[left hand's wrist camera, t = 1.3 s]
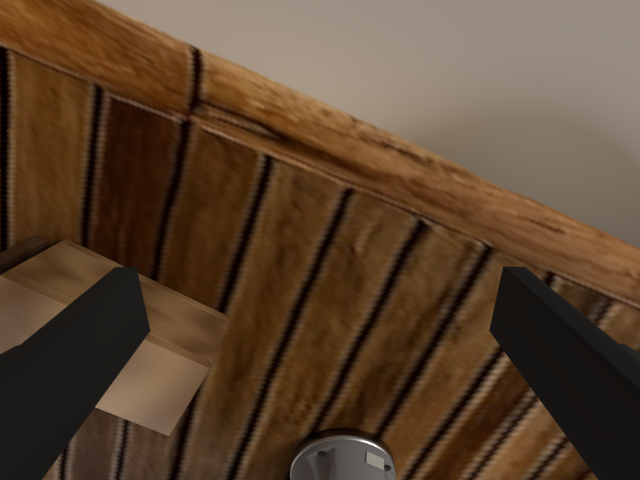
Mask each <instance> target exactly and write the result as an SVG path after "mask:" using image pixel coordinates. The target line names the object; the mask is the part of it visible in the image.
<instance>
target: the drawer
mask: <svg viewBox="0 0 640 480" xmlns="http://www.w3.org/2000/svg"><path fill="white" fill-rule="evenodd" d="M46 242H47V241H46V240H44V239H42V238H40V237H38V236H34V237H32V238H30V239H28V240H26V241H24V242H22V243H20V244H18V245H16V246H14V247H12V248H10V249H7V250H5V251H3V252H1V253H0V275H1V274H3V273H5V272H6V271H9V270H10V269H12V268H14V267H16V266H18V265H19V264H21V263H23V262H25V261H27V260H28V259H30V258H32V257H34V256H36V255H37V254H39V253H41V252H43V251H44V248H45V245H46Z"/></svg>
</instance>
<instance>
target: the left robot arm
mask: <svg viewBox="0 0 640 480" xmlns="http://www.w3.org/2000/svg"><path fill="white" fill-rule="evenodd" d="M150 331H151V330H150V326H149V321H148V316H147V312H146V307H145V303H144V298H143V293H142V289H141V284H140V280H139V275H138V271H137V267H115V268H113V269H112V270H111V271H110V272H108V273H107V274H106V275H105V276H104V277H102V278H101V279H100V280H99V281H97V282H96V283H95V284H94V285H93V286H91V287H90V288H89V289H88V290H86V291H85V292H84V293H83V294H82V295H80V296H79V297H78V298H77V299H75V300H74V301H73V302H72V303H71V304H69V305H68V306H67V307H66V308H64V309H63V310H62V311H61V312H60V313H58V314H57V315H56V316H55V317H53V318H52V319H51V320H50V321H49V322H47V323H46V324H45V325H44V326H42V327H41V328H40V329H39V330H38V331H36V332H35V333H34V334H33V335H31V336H30V337H29V338H28V339H27V340H25V341H24V342H23V343H22V344H20V345H16V346H14V347H13V348H11V349H9V350H7V351H5V352H3V353H2V354H0V480H42V479H43V477H44V476H45V475H46V473H47V472H48V470H49V469H50V468H51V466H52V465H53V464H54V462H55V461H56V459H57V458H58V457H59V455H60V454H61V453H62V451H63V450H64V449H65V447H66V446H67V444H68V443H69V442H70V440H71V439H72V438H73V436H74V435H75V434H76V432H77V431H78V429H79V428H80V427H81V425H82V424H83V423H84V421H85V420H86V418H87V417H88V416H89V414H90V413H91V412H92V410H93V409H94V408H95V406H96V405H97V403H98V402H99V401H100V399H101V398H102V397H103V395H104V394H105V393H106V391H107V390H108V388H109V387H110V386H111V384H112V383H113V382H114V380H115V379H116V377H117V376H118V375H119V373H120V372H121V371H122V369H123V368H124V367H125V365H126V364H127V362H128V361H129V360H130V358H131V357H132V356H133V354H134V353H135V352H136V350H137V349H138V347H139V346H140V345H141V343H142V342H143V341H144V339H145V338H146V336H147V335H148V334H149V332H150ZM489 331H490V332H491V334H492V335H493V336H494V338H495V339H496V341H497V342H498V343H499V345H500V346H501V347H502V349H503V350H504V352H505V353H506V354H507V356H508V357H509V358H510V360H511V361H512V362H513V364H514V365H515V367H516V368H517V369H518V371H519V372H520V373H521V375H522V376H523V377H524V379H525V380H526V382H527V383H528V384H529V386H530V387H531V388H532V390H533V391H534V393H535V394H536V395H537V397H538V398H539V399H540V401H541V402H542V403H543V405H544V406H545V408H546V409H547V410H548V412H549V413H550V414H551V416H552V417H553V418H554V420H555V421H556V423H557V424H558V425H559V427H560V428H561V429H562V431H563V432H564V434H565V435H566V436H567V438H568V439H569V440H570V442H571V443H572V444H573V446H574V447H575V449H576V450H577V451H578V453H579V454H580V455H581V457H582V458H583V460H584V461H585V462H586V464H587V465H588V466H589V468H590V469H591V470H592V472H593V473H594V475H595V476H596V477H597V479H598V480H640V353H639V352H638V351H636V350H634V349H632V348H630V347H628V346H626V345H625V344H618V343H617V342H616V341H615V340H613V339H612V338H611V337H610V336H609V335H607V334H606V333H605V332H604V331H602V330H601V329H600V328H599V327H598V326H596V325H595V324H594V323H593V322H591V321H590V320H589V319H588V318H587V317H585V316H584V315H583V314H582V313H580V312H579V311H578V310H577V309H576V308H574V307H573V306H572V305H571V304H569V303H568V302H567V301H566V300H565V299H563V298H562V297H561V296H560V295H558V294H557V293H556V292H555V291H554V290H552V289H551V288H550V287H549V286H547V285H546V284H545V283H544V282H543V281H541V280H540V279H539V278H538V277H536V276H535V275H534V274H533V273H532V272H530V271H529V270H528V269H527V268H525V267H503V271H502V275H501V280H500V284H499V289H498V293H497V298H496V303H495V307H494V312H493V316H492V321H491V326H490V330H489ZM290 478H291V480H396V470H395V465H394V460H393V456H392V453H391V451H390V449H389V448H388V447H387V445H386V444H385V443H384V442H382V441H381V440H380V439H378V438H377V437H375V436H373V435H371V434H369V433H366V432H363V431H359V430H353V429H334V430H328V431H324V432H321V433H318V434H316V435H313V436H311V437H310V438H308V439H306V440H305V441H304V442H302V443H301V444H300V445H299V447H298V448H297V449H296V451H295V452H294V454H293V457H292V461H291V471H290Z"/></svg>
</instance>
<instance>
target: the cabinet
mask: <svg viewBox="0 0 640 480" xmlns="http://www.w3.org/2000/svg"><path fill="white" fill-rule="evenodd" d="M115 267H124V266H122V265H120V264H118V263H116V262H114V261H112V260H110V259H107V258H105V257H103V256H101V255H99V254H97V253H95V252H93V251H91V250H89V249H87V248H85V247H82V246H80V245H78V244H76V243H74V242H72V241H70V240H68V239H64V240H62V241H61V242H59V243H57V244H55V245H54V246H52V247H50V248H48V249H46V250H45V251H43V252H41V253H39V254H37V255H36V256H34V257H32V258H30V259H28V260H27V261H25V262H23V263H21V264H19V265H18V266H16V267H14V268H12V269H10V270H9V271H6V272H5V273H3V274H1V275H0V354H2V353H3V352H5V351H7V350H9V349H11V348H13V347H14V346H16V345H20V344H22V343H23V342H24V341H25V340H27V339H28V338H29V337H30V336H31V335H33V334H34V333H35V332H36V331H38V330H39V329H40V328H41V327H42V326H44V325H45V324H46V323H47V322H49V321H50V320H51V319H52V318H53V317H55V316H56V315H57V314H58V313H60V312H61V311H62V310H63V309H64V308H66V307H67V306H68V305H69V304H71V303H72V302H73V301H74V300H75V299H77V298H78V297H79V296H80V295H82V294H83V293H84V292H85V291H86V290H88V289H89V288H90V287H91V286H93V285H94V284H95V283H96V282H97V281H99V280H100V279H101V278H102V277H104V276H105V275H106V274H107V273H108V272H110V271H111V270H112V269H113V268H115ZM138 275H139V280H140V284H141V289H142V293H143V298H144V303H145V307H146V312H147V316H148V321H149V326H150V330H151V331H150V332H149V334H148V335H147V336H146V338H145V339H144V341H143V342H142V343H141V345H140V346H139V347H138V349H137V350H136V352H135V353H134V354H133V356H132V357H131V358H130V360H129V361H128V362H127V364H126V365H125V367H124V368H123V369H122V371H121V372H120V373H119V375H118V376H117V377H116V379H115V380H114V382H113V383H112V384H111V386H110V387H109V388H108V390H107V391H106V393H105V394H104V395H103V397H102V398H101V399H100V401H99V402H98V403H97V405H96V406H95V407H96V408H99V409H101V410H104V411H106V412H109V413H111V414H114V415H116V416H119V417H122V418H124V419H127V420H129V421H132V422H134V423H137V424H139V425H142V426H144V427H147V428H150V429H152V430H155V431H157V432H160V433H162V434H165V435H167V436H169V435H170V433H171V432H172V430H173V428H174V427H175V425H176V424H177V422H178V420H179V419H180V417H181V415H182V414H183V412H184V411H185V409H186V407H187V406H188V404H189V402H190V401H191V399H192V397H193V396H194V394H195V393H196V391H197V389H198V388H199V386H200V384H201V383H202V381H203V380H204V378H205V376H206V375H207V373H208V371H209V370H210V368H211V365H212V363H213V360H214V358H215V355H216V353H217V350H218V348H219V346H220V343H221V341H222V338H223V336H224V333H225V331H226V328H227V326H228V324H229V321H230V319H231V318H230V317H228V316H226V315H224V314H222V313H220V312H218V311H216V310H214V309H212V308H210V307H208V306H206V305H203V304H201V303H199V302H197V301H195V300H193V299H191V298H189V297H187V296H185V295H183V294H181V293H178V292H176V291H174V290H172V289H170V288H168V287H166V286H164V285H162V284H160V283H158V282H155V281H153V280H151V279H149V278H147V277H145V276H143V275H141V274H139V273H138Z"/></svg>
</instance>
